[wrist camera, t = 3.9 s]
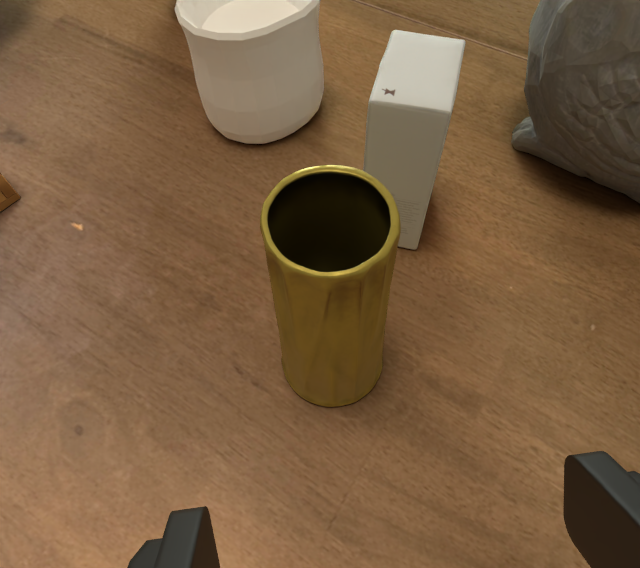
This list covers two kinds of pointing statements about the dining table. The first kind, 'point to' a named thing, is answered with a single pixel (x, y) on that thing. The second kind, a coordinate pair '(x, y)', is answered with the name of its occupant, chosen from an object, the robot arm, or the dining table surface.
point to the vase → (331, 278)
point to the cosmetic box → (411, 121)
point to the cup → (255, 64)
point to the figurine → (585, 90)
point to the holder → (7, 194)
